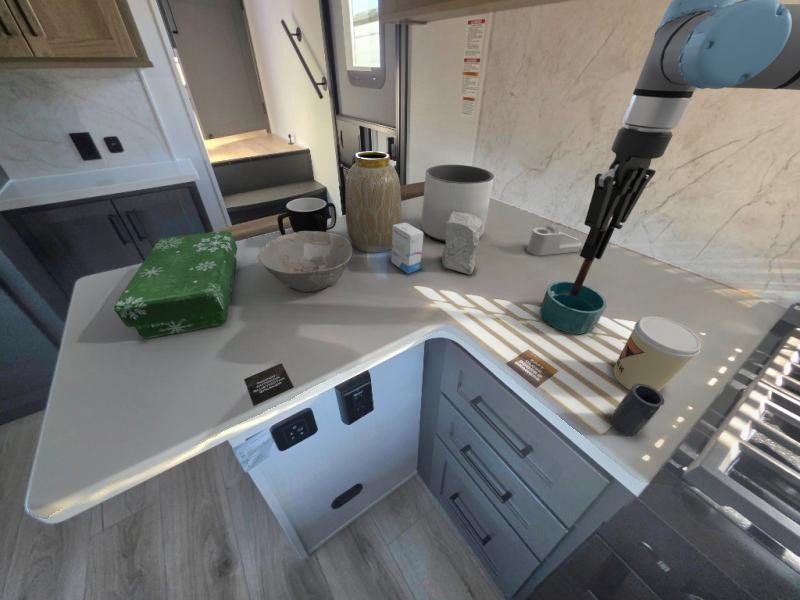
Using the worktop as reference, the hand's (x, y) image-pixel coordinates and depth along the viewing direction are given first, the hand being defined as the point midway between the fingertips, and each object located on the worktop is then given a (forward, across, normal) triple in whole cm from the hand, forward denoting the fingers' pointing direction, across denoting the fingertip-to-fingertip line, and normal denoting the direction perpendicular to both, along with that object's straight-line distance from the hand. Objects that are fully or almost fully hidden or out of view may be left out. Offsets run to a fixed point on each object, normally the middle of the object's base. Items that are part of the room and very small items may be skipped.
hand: (590, 257), depth 65 cm
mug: (+17, +44, -65) cm, 80 cm away
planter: (+17, -3, -52) cm, 55 cm away
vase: (+17, +26, -54) cm, 62 cm away
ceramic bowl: (+17, +50, -39) cm, 66 cm away
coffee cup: (+17, +2, +19) cm, 25 cm away
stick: (+10, 0, 0) cm, 10 cm away
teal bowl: (+17, -1, 0) cm, 17 cm away
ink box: (+17, +23, -37) cm, 47 cm away
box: (+17, +77, -45) cm, 91 cm away
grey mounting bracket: (+17, -26, -27) cm, 41 cm away
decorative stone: (+17, +9, -31) cm, 36 cm away
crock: (+16, +13, +24) cm, 32 cm away
